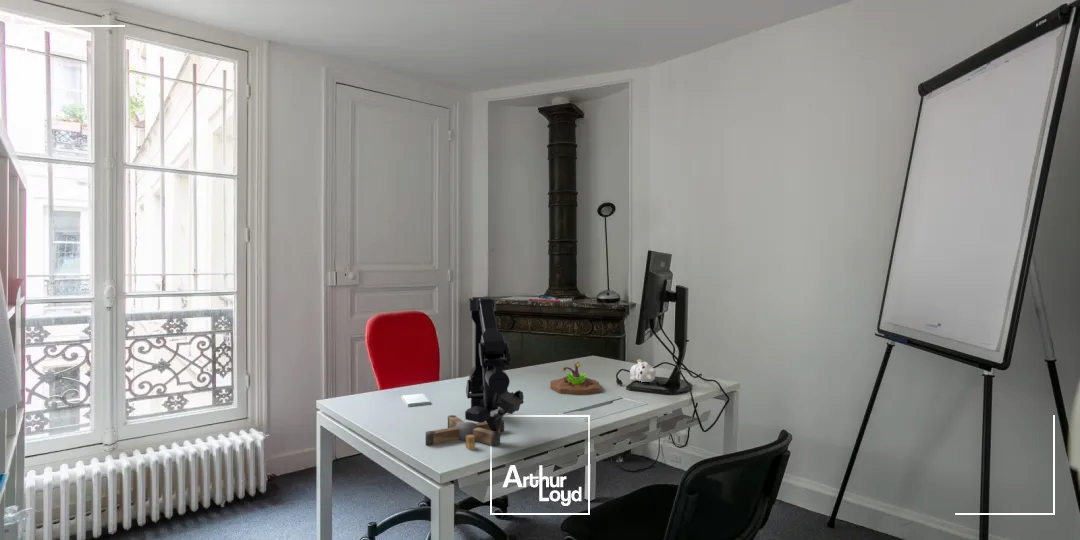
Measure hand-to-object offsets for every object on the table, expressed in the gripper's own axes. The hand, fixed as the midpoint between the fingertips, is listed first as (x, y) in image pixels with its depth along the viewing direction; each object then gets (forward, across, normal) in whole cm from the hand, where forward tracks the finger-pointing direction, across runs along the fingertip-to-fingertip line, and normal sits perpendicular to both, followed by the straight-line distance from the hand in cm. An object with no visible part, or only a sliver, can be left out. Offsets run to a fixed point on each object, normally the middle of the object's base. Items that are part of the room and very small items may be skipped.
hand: (495, 435), depth 159 cm
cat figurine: (+7, +91, -5) cm, 91 cm away
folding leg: (+1, -2, +1) cm, 3 cm away
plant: (+6, +66, +12) cm, 67 cm away
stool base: (+2, -1, +10) cm, 11 cm away
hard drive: (+4, +17, +50) cm, 53 cm away
